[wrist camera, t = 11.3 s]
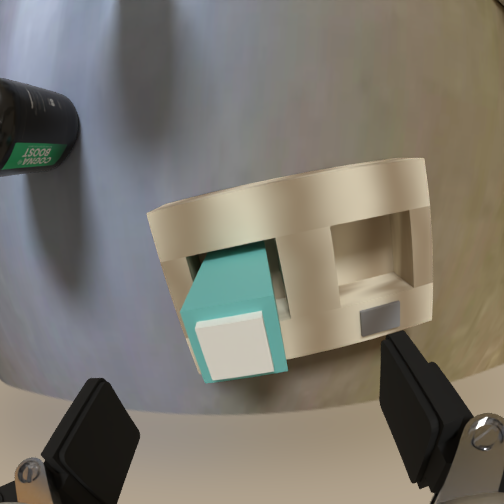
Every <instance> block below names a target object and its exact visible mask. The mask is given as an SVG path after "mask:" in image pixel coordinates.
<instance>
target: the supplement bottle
mask: <svg viewBox="0 0 504 504" xmlns="http://www.w3.org/2000/svg"><path fill="white" fill-rule="evenodd" d="M77 133H78V116H77V112H76V109H75V107H74V105H73V103H72V102H71V101H70V100H69V99H68V98H67V97H66V96H64V95H62V94H59V93H56V92H53V91H50V90H46V89H43V88H39V87H36V86H32V85H28V84H25V83H21V82H17V81H13V80H9V79H4V78H0V177H3V176H10V175H18V174H26V173H35V172H42V171H48V170H51V169H54V168H55V167H57V166H58V165H60V164H61V163H62V162H63V161H64V160H65V159H66V158H67V156H68V155H69V154H70V152H71V150H72V148H73V146H74V144H75V141H76V138H77Z"/></svg>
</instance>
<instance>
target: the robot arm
mask: <svg viewBox="0 0 504 504" xmlns="http://www.w3.org/2000/svg"><path fill="white" fill-rule="evenodd" d="M498 1H499V2H500V3H501V4H502V5H503V6H504V0H498ZM379 400H380V406H381V409H382V411H383V413H384V416H385V418H386V421H387V423H388V425H389V428H390V430H391V433H392V435H393V438H394V440H395V442H396V445H397V447H398V450H399V452H400V455H401V457H402V460H403V462H404V465H405V468H406V470H407V473H408V476H409V478H410V480H411V482H412V483H416V482H417V484H418V486H419V489H422V488H424V487H427V486H429V488H430V490H431V492H433V493H434V495H433V497H432V499H431V501H430V504H504V418H502V417H501V416H499V415H496V414H492V413H484V414H480V415H477V416H475V417H474V416H473V415H472V413H471V412H470V410H469V409H468V408H467V406H466V405H465V403H464V402H463V400H462V399H461V397H460V396H459V395H458V393H457V392H456V390H455V389H454V388H453V386H452V385H451V383H450V382H449V380H448V379H447V378H446V376H445V375H444V373H443V372H442V371H441V369H440V368H439V367H438V365H437V364H436V363H434V362H430V363H428V362H427V361H426V360H425V358H424V357H423V355H422V354H421V353H420V351H419V350H418V349H417V347H416V346H415V344H414V343H413V342H412V340H411V339H410V338H409V336H408V335H407V334H406V332H405V331H403V330H402V331H399V332H395V333H392V334H388V335H387V336H386V340H383V341H382V342H381V373H380V397H379ZM139 439H140V433H139V430H138V429H137V427H136V425H135V424H134V422H133V421H132V419H131V418H130V416H129V415H128V413H127V411H126V410H125V408H124V406H123V405H122V403H121V401H120V400H119V398H118V396H117V395H116V393H115V391H114V390H113V388H112V386H111V384H110V383H109V382H107V381H106V380H105V379H104V378H90V379H88V380H87V381H86V383H85V385H84V386H83V388H82V389H81V391H80V392H79V394H78V395H77V397H76V398H75V400H74V401H73V403H72V405H71V406H70V408H69V409H68V411H67V412H66V414H65V415H64V417H63V419H62V420H61V422H60V423H59V425H58V427H57V428H56V430H55V432H54V433H53V435H52V437H51V438H50V440H49V442H48V443H47V445H46V447H45V448H44V450H43V452H42V453H41V456H42V457H43V458H44V459H45V462H44V463H43V462H42V461H41V460H40V459H38V458H28V459H26V460H24V461H22V462H21V463H20V464H19V465H18V467H17V468H16V471H15V481H13V482H10V483H8V484H6V485H3V486H1V487H0V504H117V502H118V499H119V496H120V493H121V490H122V487H123V484H124V481H125V478H126V475H127V473H128V470H129V467H130V464H131V461H132V459H133V456H134V453H135V450H136V448H137V445H138V442H139Z"/></svg>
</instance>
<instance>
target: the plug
mask: <svg viewBox="0 0 504 504" xmlns="http://www.w3.org/2000/svg"><path fill="white" fill-rule="evenodd" d="M180 314H181V317H182V320H183V323H184V326H185V329H186V332H187V335H188V338H189V340H190V343H191V346H192V349H193V352H194V355H195V357H196V360H197V363H198V366H199V368H200V371H201V374H202V376H203V379H204V382H205V383H213V382H221V381H229V380H236V379H243V378H250V377H256V376H262V375H268V374H274V373H279V372H285V371H288V367H287V361H286V356H285V350H284V344H283V338H282V333H281V327H280V321H279V316H278V310H277V305H276V299H275V294H274V288H273V283H272V278H271V273H270V268H269V263H268V258H267V253H266V248H265V243H264V240H262V241H257V242H252V243H248V244H243V245H238V246H234V247H229V248H224V249H220V250H215V251H211V252H207V254H206V257H205V259H204V261H203V263H202V265H201V267H200V269H199V271H198V273H197V276H196V278H195V280H194V282H193V284H192V286H191V288H190V291H189V293H188V295H187V297H186V299H185V302H184V304H183V306H182V308H181V310H180Z"/></svg>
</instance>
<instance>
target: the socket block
mask: <svg viewBox="0 0 504 504" xmlns="http://www.w3.org/2000/svg"><path fill="white" fill-rule="evenodd" d="M146 214H147V217H148V221H149V225H150V228H151V232H152V235H153V239H154V242H155V246H156V249H157V253H158V256H159V259H160V263H161V266H162V269H163V272H164V276H165V279H166V282H167V285H168V288H169V291H170V294H171V297H172V300H173V303H174V306H175V309H176V312H177V315H178V318H179V321H180V324H181V327H182V329H183V332H184V335H185V338H186V340H187V343H188V346H189V349H190V351H191V354H192V356H193V359H194V362H195V364H196V367H197V369H198V372H199V374H201V371H200V368H199V366H198V363H197V360H196V357H195V355H194V352H193V349H192V346H191V343H190V340H189V338H188V335H187V332H186V329H185V326H184V323H183V320H182V317H181V314H180V310H181V308H182V306H183V304H184V302H185V299H186V297H187V295H188V293H189V291H190V288H191V286H192V284H193V282H194V280H195V278H196V276H197V273H198V271H199V269H200V267H201V265H202V263H203V261H204V259H205V257H206V254H207V252H211V251H215V250H220V249H224V248H229V247H234V246H238V245H243V244H248V243H252V242H257V241H262V240H264V243H265V248H266V253H267V258H268V263H269V268H270V273H271V278H272V283H273V288H274V294H275V299H276V305H277V310H278V316H279V321H280V327H281V333H282V338H283V344H284V350H285V356H286V360H287V359H292V358H296V357H301V356H306V355H310V354H314V353H319V352H323V351H327V350H331V349H335V348H339V347H343V346H347V345H351V344H355V343H359V342H362V341H366V340H370V339H373V338H377V337H380V336H383V335H387V334H390V333H393V332H397V331H400V330H403V329H406V328H409V327H412V326H415V325H419V324H421V323H424V322H427V321H430V320H432V302H433V247H432V227H431V213H430V202H429V192H428V183H427V175H426V168H425V161H424V158H392V159H385V160H378V161H371V162H364V163H358V164H352V165H345V166H339V167H334V168H328V169H322V170H316V171H311V172H306V173H300V174H295V175H290V176H285V177H280V178H275V179H270V180H265V181H260V182H256V183H251V184H247V185H242V186H237V187H233V188H229V189H224V190H220V191H216V192H212V193H207V194H203V195H199V196H195V197H191V198H187V199H183V200H179V201H175V202H172V203H168V204H165V205H163V206H161V207H158V208H156V209H154V210H152V211H150V212H148V213H146Z"/></svg>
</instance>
